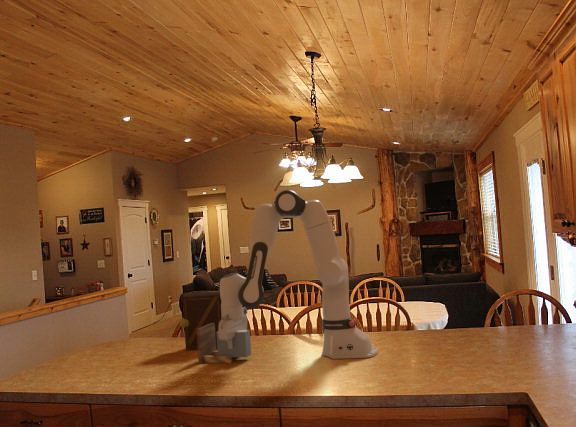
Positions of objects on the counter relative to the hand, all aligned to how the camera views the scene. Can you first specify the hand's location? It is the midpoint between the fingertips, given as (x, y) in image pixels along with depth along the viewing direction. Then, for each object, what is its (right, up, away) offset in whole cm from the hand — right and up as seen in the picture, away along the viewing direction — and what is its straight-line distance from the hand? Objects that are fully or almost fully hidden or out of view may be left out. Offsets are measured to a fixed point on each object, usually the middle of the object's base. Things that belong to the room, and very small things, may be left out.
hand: (234, 346), depth 220 cm
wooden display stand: (-5, -6, +2) cm, 8 cm away
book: (-16, -8, +27) cm, 32 cm away
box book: (0, -4, 0) cm, 4 cm away
